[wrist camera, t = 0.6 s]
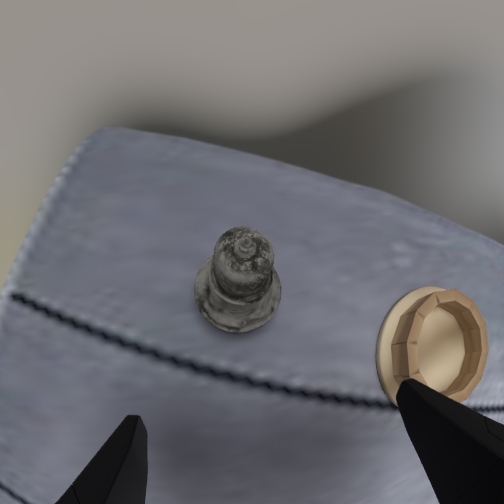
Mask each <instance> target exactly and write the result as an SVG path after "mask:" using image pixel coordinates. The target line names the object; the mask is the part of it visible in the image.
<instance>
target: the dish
mask: <svg viewBox="0 0 504 504" xmlns="http://www.w3.org/2000/svg"><path fill="white" fill-rule="evenodd" d="M487 355H488V341H487V331H486V324H485V321H484V319H483V318H482V316H481V314H480V312H479V310H478V308H477V306H476V304H475V302H473V300H471V299H470V298H468V297H467V296H465V295H464V294H462V293H461V292H459V291H458V290H455V289H453V290H445V289H442V288H438V287H424V288H420V289H417V290H415V291H413V292H410V293H409V294H407V295H405V296H403V297H402V298H401V299H400V300H398V301H397V302H396V303H395V305H394V306H393V307H392V308H391V310H390V311H389V312H388V314H387V316H386V318H385V319H384V322H383V324H382V327H381V329H380V333H379V336H378V342H377V350H376V364H377V372H378V376H379V380H380V383H381V385H382V388H383V390H384V392H385V393H386V395H387V396H388V398H389V399H390V401H391V402H392V403H393V404H394V405H395V406H397V407H398V405H397V402H396V394H397V391H398V389H399V386H400V384H401V382H402V381H403V380H406V379H409V378H413V379H415V380H417V381H419V382H421V383H423V384H425V385H427V386H428V387H430V388H432V389H434V390H436V391H438V392H440V393H442V394H443V395H445V396H447V397H449V398H451V399H453V400H455V401H457V402H459V403H460V402H462V401H464V400H466V399H467V398H468V396H469V395H470V394H471V392H472V391H473V390H474V388H475V387H476V386H477V384H478V383H479V382H480V380H481V378H482V375H483V371H484V367H485V364H486V359H487Z"/></svg>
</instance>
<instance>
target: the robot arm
mask: <svg viewBox="0 0 504 504" xmlns="http://www.w3.org/2000/svg"><path fill="white" fill-rule="evenodd" d="M396 402H397V405H398V408H399V411H400V413H401V416H402V419H403V422H404V425H405V428H406V430H407V433H408V435H409V437H410V439H411V442H412V444H413V446H414V448H415V450H416V452H417V454H418V456H419V458H420V461H421V463H422V465H423V467H424V469H425V472H426V474H427V476H428V478H429V481H430V483H431V485H432V487H433V490H434V492H435V494H436V497H437V499H438V501H439V504H504V425H503V424H501V423H498V422H496V421H494V420H492V419H490V418H488V417H486V416H483V415H482V414H480V413H478V412H476V411H474V410H472V409H470V408H468V407H466V406H464V405H462V404H461V403H459V402H457V401H455V400H453V399H451V398H449V397H447V396H445V395H443V394H442V393H440V392H438V391H436V390H434V389H432V388H430V387H428V386H427V385H425V384H423V383H421V382H419V381H417V380H415V379H413V378H409V379H406V380H403V381H402V382H401V384H400V386H399V389H398V391H397V394H396ZM147 475H148V462H147V430H146V428H145V425H144V423H143V421H142V419H141V417H140V416H139V415H127V416H126V417H125V419H124V420H123V421H122V422H121V424H120V425H119V426H118V427H117V429H116V430H115V431H114V432H113V434H112V435H111V436H110V437H109V438H108V440H107V441H106V442H105V443H104V445H103V446H102V447H101V448H100V450H99V451H98V452H97V453H96V455H95V456H94V457H93V458H92V460H91V461H90V462H89V463H88V465H87V466H86V467H85V468H84V470H83V471H82V472H81V473H80V474H79V476H78V477H77V478H76V479H75V481H74V482H73V483H72V484H73V485H70V487H69V488H68V489H67V490H66V492H65V493H64V494H63V495H62V496H61V497H60V499H59V500H58V501H57V502H56V503H55V504H145V497H146V486H147Z"/></svg>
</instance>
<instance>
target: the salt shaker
mask: <svg viewBox="0 0 504 504" xmlns="http://www.w3.org/2000/svg"><path fill="white" fill-rule="evenodd" d="M273 264H274V252H273V248H272V245H271V243H270V241H269V240H268V238H267V237H266V236H265V235H264V234H263V233H261V232H260V231H258V230H256V229H253V228H251V227H244V226H242V227H235V228H233V229H230V230H228V231H227V232H225V233H224V234H223V235H222V236H221V237H220V239H219V240H218V241H217V244H216V246H215V249H214V255H213V256H212V257H210V258H209V259H208V260H207V261H206V262H205V263H204V264H203V266H202V267H201V268H200V270H199V272H198V274H197V277H196V279H195V287H194V293H195V300H196V303H197V306H198V308H199V310H200V312H201V313H202V315H203V316H204V317H205V318H206V320H207V321H208V322H210V323H211V324H213V325H214V326H215V327H217V328H219V329H221V330H224V331H226V332H230V333H243V332H249V331H253V330H255V329H257V328H259V327H261V326H263V325H264V324H265V323H266V322H267V321H269V320H270V319H271V318H272V316H273V315H274V313H275V312H276V310H277V308H278V305H279V302H280V299H281V284H280V280H279V276H278V274H277V272H276V270H275V268H274V267H273Z"/></svg>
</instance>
